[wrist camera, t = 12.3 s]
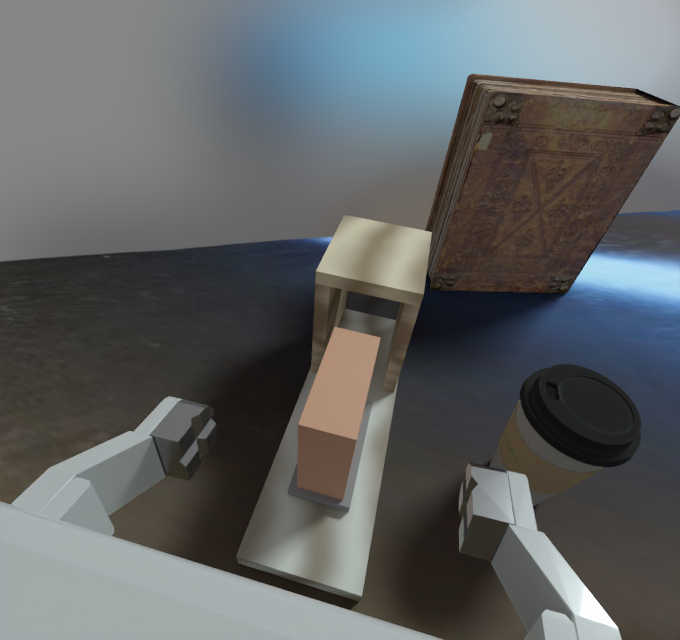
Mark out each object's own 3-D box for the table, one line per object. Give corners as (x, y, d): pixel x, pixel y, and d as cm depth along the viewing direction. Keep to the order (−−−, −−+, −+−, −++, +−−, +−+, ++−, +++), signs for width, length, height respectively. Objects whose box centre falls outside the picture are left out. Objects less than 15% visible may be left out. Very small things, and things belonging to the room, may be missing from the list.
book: (428, 290, 65) (490, 90, 45) (417, 259, 72) (466, 73, 51) (567, 294, 68) (686, 107, 47) (544, 263, 74) (639, 88, 54)
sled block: (371, 407, 44) (389, 335, 36) (348, 512, 36) (365, 448, 28) (321, 394, 45) (328, 321, 37) (287, 494, 37) (286, 427, 28)
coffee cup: (458, 446, 44) (508, 362, 34) (530, 435, 46) (599, 352, 36) (497, 534, 38) (575, 462, 27) (580, 518, 39) (681, 445, 29)
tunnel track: (411, 292, 64) (438, 193, 52) (358, 601, 33) (397, 529, 21) (348, 278, 66) (360, 178, 54) (238, 563, 34) (208, 474, 22)
